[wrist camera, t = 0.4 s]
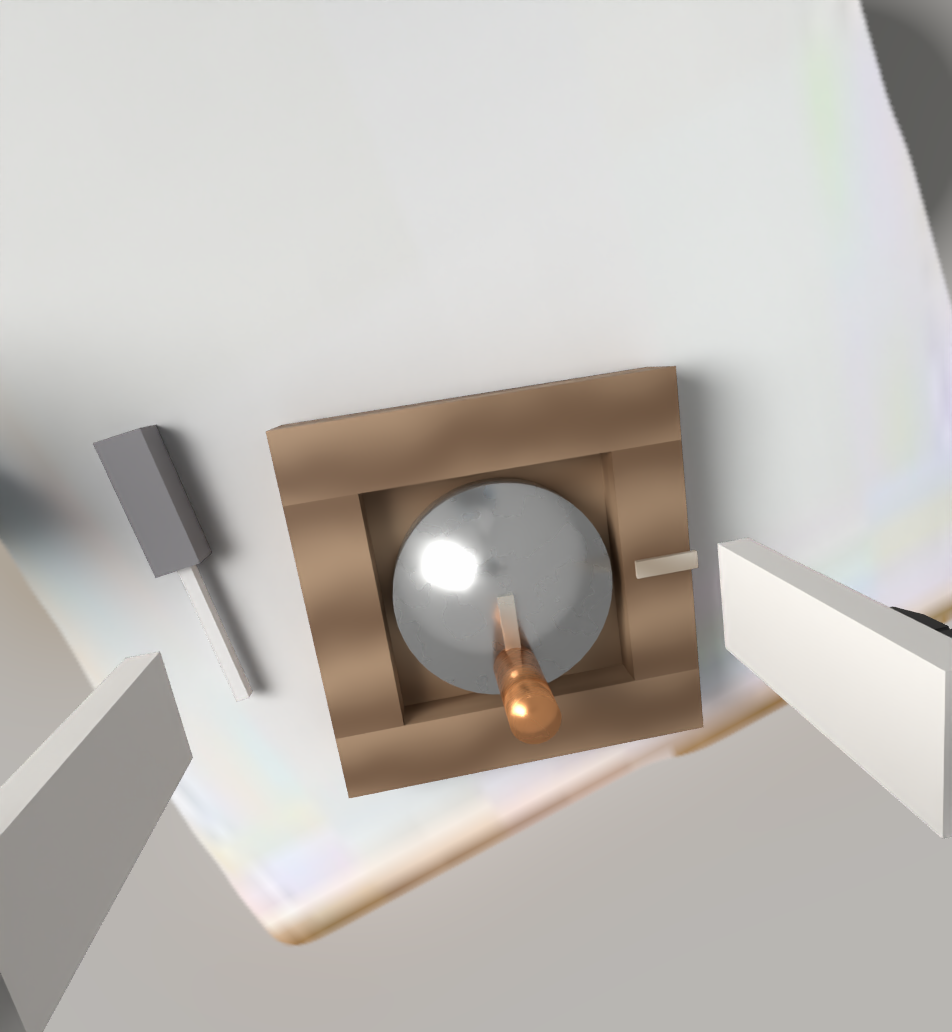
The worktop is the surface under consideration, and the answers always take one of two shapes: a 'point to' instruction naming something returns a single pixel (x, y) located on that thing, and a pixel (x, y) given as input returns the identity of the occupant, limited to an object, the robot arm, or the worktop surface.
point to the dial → (503, 594)
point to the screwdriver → (167, 530)
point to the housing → (452, 463)
